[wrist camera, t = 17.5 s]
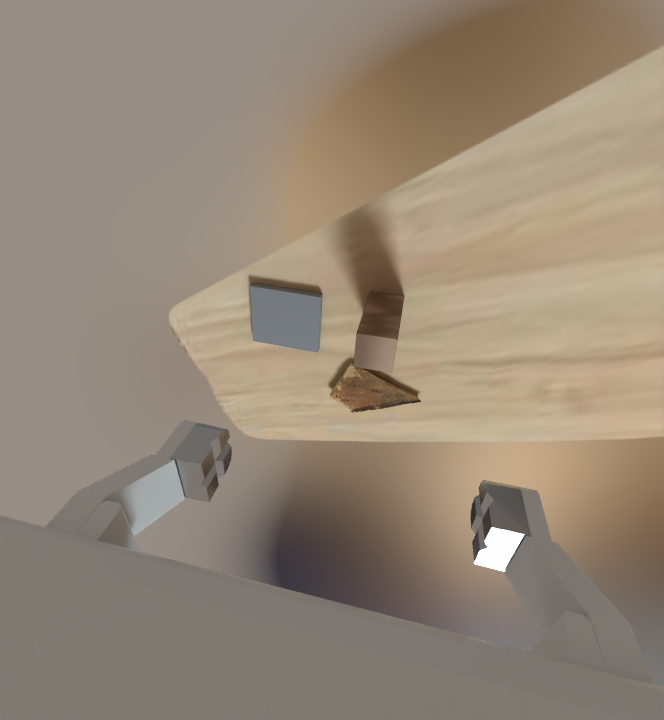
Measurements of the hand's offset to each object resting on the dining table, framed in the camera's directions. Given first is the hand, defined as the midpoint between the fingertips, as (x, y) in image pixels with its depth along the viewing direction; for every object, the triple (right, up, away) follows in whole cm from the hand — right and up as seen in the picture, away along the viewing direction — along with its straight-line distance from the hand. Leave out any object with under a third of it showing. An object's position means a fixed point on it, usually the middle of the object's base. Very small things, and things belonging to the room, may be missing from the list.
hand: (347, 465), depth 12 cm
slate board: (-2, +8, +37) cm, 38 cm away
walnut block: (+6, +10, +34) cm, 36 cm away
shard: (+5, +1, +41) cm, 42 cm away
